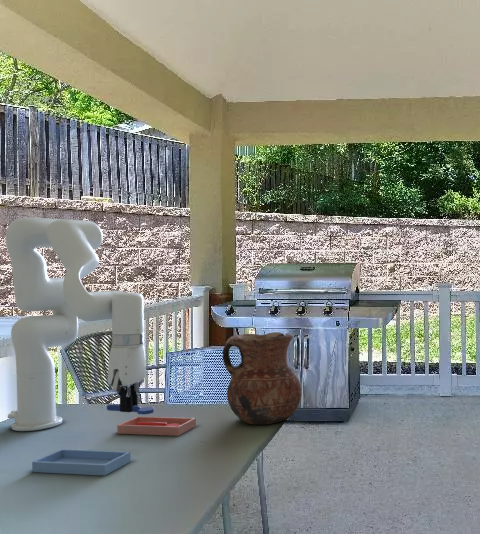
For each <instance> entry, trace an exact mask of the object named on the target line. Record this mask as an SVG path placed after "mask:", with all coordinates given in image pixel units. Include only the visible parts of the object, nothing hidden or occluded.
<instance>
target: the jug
mask: <svg viewBox="0 0 480 534" xmlns="http://www.w3.org/2000/svg"><path fill="white" fill-rule="evenodd" d="M294 337H295V336H294V334H289V333H287V332H286V333H285V334H284V333H282V332H279V331H275V332H268V333H264V334H255V333H244V334H233V335H231V336H230V337H229V338H227V340H226V342H225V344H224V347H223V349H222V361H223V364H224V367H225V369H226V370H227V372H228V374H229V375H230V377H231V378H230V380H229V383H228V386H227V390H226V399H227V402H228V405H229V407H230V409H231V411H232V412H233V414H234V415H235V416H236V417H237V418H238V419H239V420H240V421H241V422H243V423H244V424H249V425H255V426H256V425H257V426H258V425H261V426H264V425H270V424H275V423H276V424H277V423H281V422H283V421H285V420H288V419H290V418H291V417H292V416H293V415H294V414H295V412H296V411H297V409H298V407H299V405H300V403H301V400H302V394H303V385H302V383H301V380H300V378H299V375H298V374H297V373H296V372H295V370H294V369H293V368H292V367H291V366H290V365H289V363H288V350H289V346H290V345H291V342H292V340H293V339H294ZM232 347H236V348H237V349H238V351H239V354H240V360H241V361H240V363H239V364H237V365H234V364H233V363H232V359H231V355H230V349H232Z"/></svg>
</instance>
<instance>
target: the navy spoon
mask: <svg viewBox="0 0 480 534" xmlns="http://www.w3.org/2000/svg"><path fill="white" fill-rule="evenodd" d="M106 410H107V411H110V412H120V404H111V403H110V404H107V405H106ZM131 413H137V414H138V415H150V414H153V413H155V408H154V407H153V406H145V407H141V406H140V405H138V406H132V412H131Z"/></svg>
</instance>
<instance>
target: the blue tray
mask: <svg viewBox="0 0 480 534" xmlns="http://www.w3.org/2000/svg"><path fill="white" fill-rule="evenodd" d="M131 459H132V458H131V451H118V450H117V451H115V450H93V449H92V450H91V449H70V448H69V449H68V448H67V449H66V448H60V449H59V450H56V451H54V452H51V453H49V454H47V455H45V456H42V457H40V458H37V459H36V460H33V461H32V462H31V468H32V469H31V473H44V474H46V473H48V474H64V475H65V474H67V475H83V476H84V475H85V476H88V475H89V476H102V477H103V476H107V475H108V474H110V473H113V472H114V471H117V470H119V469H120V468H122V467H123V466H126V465H127V464H129V463H131V462H132V461H131Z"/></svg>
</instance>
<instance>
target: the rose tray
mask: <svg viewBox="0 0 480 534" xmlns="http://www.w3.org/2000/svg"><path fill="white" fill-rule="evenodd" d="M136 422H165V423H167V424H173V423H177V424H180V426H178V427H174V426H144V425H135V424H136ZM116 427H117V428H116V431H117V434H119V435H120V434H121V435H122V434H124V435H144V436H145V435H147V436H149V435H151V436H176V437H178V436H180V435H183V434H184V433H186V432H188V431H190V430H192V429H194V428H195V427H197V419H196V418H195V417H171V416H169V417H166V416H135V417H133V418H131V419H129V420H126V421H124V422H121V423H120V424H117V425H116Z"/></svg>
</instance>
